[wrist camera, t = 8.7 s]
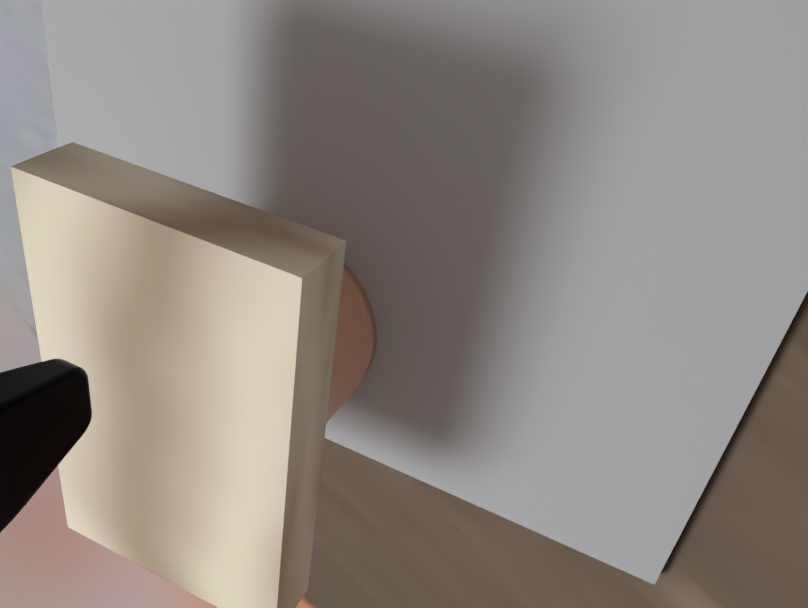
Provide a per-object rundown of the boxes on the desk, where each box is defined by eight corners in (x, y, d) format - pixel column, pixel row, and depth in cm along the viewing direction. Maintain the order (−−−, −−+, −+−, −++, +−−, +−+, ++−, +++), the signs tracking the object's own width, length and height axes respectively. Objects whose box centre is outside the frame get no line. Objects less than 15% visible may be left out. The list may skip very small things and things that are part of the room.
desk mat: (1193, -460, 11) (1204, -469, 10) (656, 574, 24) (654, 584, 23) (-7, -534, 17) (-23, -541, 16) (86, 322, 30) (78, 328, 29)
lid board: (346, 240, 16) (302, 278, 15) (307, 589, 23) (274, 638, 22) (72, 142, 18) (10, 167, 17) (110, 488, 25) (68, 526, 24)
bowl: (389, 264, 22) (306, 345, 18) (364, 420, 25) (291, 514, 22) (211, 199, 23) (104, 261, 20) (211, 354, 27) (120, 431, 23)
